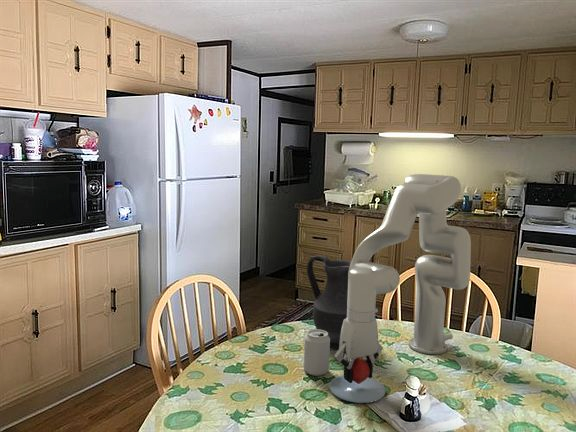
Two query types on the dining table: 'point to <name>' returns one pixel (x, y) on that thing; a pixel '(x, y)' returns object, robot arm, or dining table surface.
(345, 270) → the pitcher
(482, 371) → the dining table surface
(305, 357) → the can
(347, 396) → the plate
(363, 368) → the onion
